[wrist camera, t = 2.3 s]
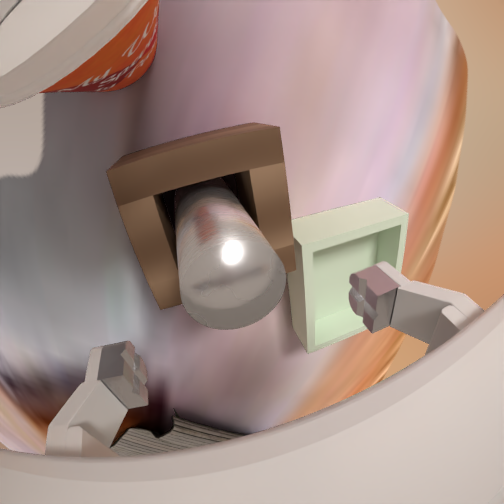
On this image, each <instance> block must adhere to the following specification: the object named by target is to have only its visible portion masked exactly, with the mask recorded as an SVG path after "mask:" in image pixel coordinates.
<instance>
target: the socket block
mask: <svg viewBox="0 0 504 504" xmlns="http://www.w3.org/2000/svg"><path fill="white" fill-rule="evenodd" d="M106 173H107V176H108V179H109V182H110V185H111V188H112V191H113V194H114V197H115V200H116V203H117V206H118V209H119V212H120V215H121V217H122V220H123V223H124V226H125V228H126V231H127V233H128V236H129V239H130V241H131V244H132V246H133V249H134V251H135V254H136V256H137V258H138V261H139V263H140V266H141V268H142V270H143V273H144V275H145V277H146V279H147V282H148V284H149V286H150V288H151V291H152V293H153V295H154V297H155V299H156V301H157V304H158V306H159V308H160V310H162V309H166V308H169V307H173V306H177V305H180V304H182V300H181V295H180V285H179V273H178V260H177V245H176V235H175V232H174V228H173V225H172V222H171V219H170V216H169V212H168V209H167V206H166V202H165V199H164V195H163V192H166V191H169V190H173V189H176V188H180V187H183V186H187V185H190V184H194V183H198V182H202V181H205V180H209V179H213V178H217V177H221V176H225V175H229V174H233V173H234V174H235V179H236V185H237V190H238V195H239V200H240V203H241V205H242V206H243V207H244V209H245V210H246V212H247V213H248V214H249V216H250V217H251V219H252V220H253V221H254V223H255V224H256V226H257V227H258V228H259V230H260V231H261V233H262V234H263V235H264V237H265V238H266V240H267V241H268V242H269V244H270V245H271V247H272V248H273V250H274V251H275V252H276V254H277V255H278V257H279V258H280V260H281V261H282V263H283V265H284V268H285V272H286V273H289V272H292V271H295V270H296V261H295V250H294V240H293V230H292V221H291V212H290V203H289V194H288V186H287V178H286V170H285V162H284V155H283V148H282V141H281V134H280V127H277V126H272V125H266V124H260V123H248V124H243V125H238V126H233V127H228V128H223V129H218V130H214V131H209V132H205V133H201V134H197V135H193V136H189V137H185V138H181V139H177V140H174V141H170V142H167V143H163V144H160V145H156V146H153V147H150V148H147V149H143V150H140V151H137V152H134V153H131V154H128V155H125V156H123V157H121V158H120V159H119V160H118V161H117V162H116V163H115V164H114V165H113V166H112V167H110V168H109V169H108V170H107V171H106Z"/></svg>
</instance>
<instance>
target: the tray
mask: <svg viewBox="0 0 504 504" xmlns="http://www.w3.org/2000/svg"><path fill="white" fill-rule="evenodd" d="M408 215H409V213H407V212H405V211H404V210H402V209H400V208H398V207H397V206H395V205H393V204H391V203H389V202H388V201H386V200H384V199H382V198H380V197H379V198H375V199H371V200H367V201H363V202H359V203H355V204H351V205H347V206H343V207H339V208H335V209H331V210H327V211H324V212H320V213H316V214H312V215H308V216H304V217H300V218H297V219H293V220H291V221H292V230H293V240H294V250H295V261H296V270H295V271H292V272H289V273H287V278H288V287H289V297H290V306H291V316H292V327H293V328H294V330H295V332H296V334H297V336H298V337H299V339H300V341H301V343H302V345H303V347H304V348H305V350H306V352H307V354H309V353H311V352H314V351H317V350H319V349H322V348H324V347H327V346H329V345H332V344H334V343H337V342H339V341H341V340H344V339H346V338H348V337H351V336H353V335H355V334H357V333H360V332H362V331H364V330H366V329H368V328H367V327H366V326H365V325H364V324H363V317H361V316H358V315H356V314H355V313H354V312H353V310H352V308H351V306H350V303H349V291H350V289H351V288H352V285H351V284H350V283H349V277H350V275H351V274H352V273H354V272H357V271H360V270H362V269H365V268H367V267H370V266H373V265H374V264H377V263H379V262H382V261H385V262H387V263H389V264H390V265H391V266H392V267H394V268H395V269H396V270H397V271H399V272H400V273H401V269H402V263H403V256H404V249H405V242H406V234H407V225H408Z"/></svg>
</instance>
